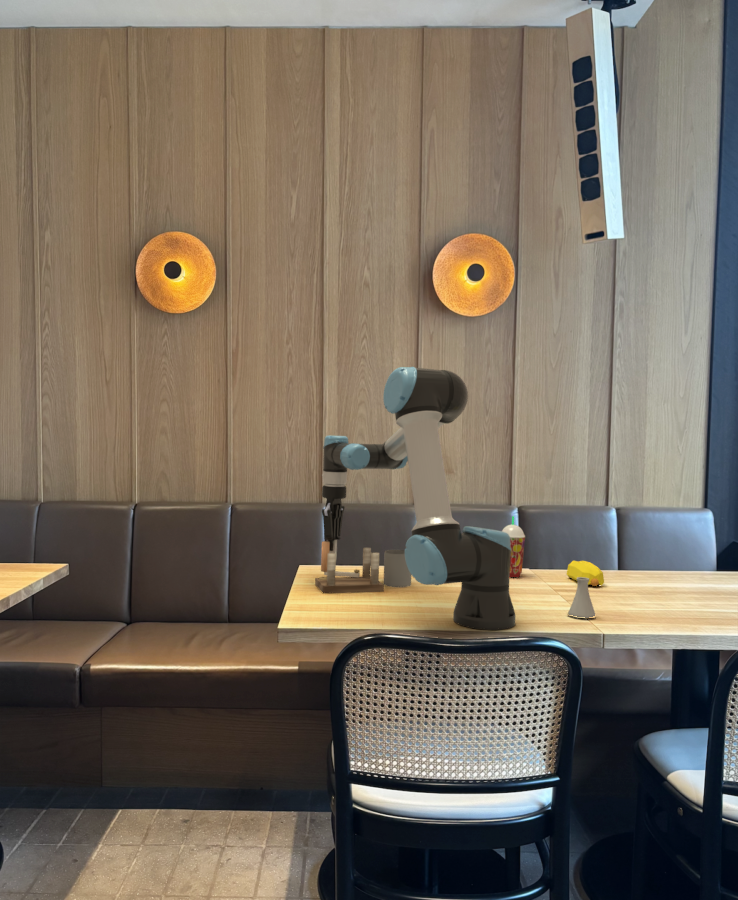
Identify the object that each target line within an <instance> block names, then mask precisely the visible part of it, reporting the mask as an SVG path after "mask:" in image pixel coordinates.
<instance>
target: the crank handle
mask: <svg viewBox="0 0 738 900" xmlns="http://www.w3.org/2000/svg"><path fill="white" fill-rule="evenodd" d="M329 547H330V542H329V541H327V540H325V541H324V540H323V541H321V556H320V558H321V559H320V560H321V561H320V572H323V575H324V576H327V557H328V553H329ZM360 574H361V573H360V572H359V573H355V572H351V571H350V572H349V571H339V570H338V571H336V570H335V577H361V575H360Z"/></svg>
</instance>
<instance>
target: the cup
mask: <svg viewBox="0 0 738 900" xmlns="http://www.w3.org/2000/svg"><path fill="white" fill-rule="evenodd" d="M383 560H384V562H383V584H384V586H386V587H390V588H407V587H408V588H409V587H411V586H412V575H411V573H410V572H409V570H408V567H407V564H406V560H405V549H387V550H386V549H385V551H384V556H383Z"/></svg>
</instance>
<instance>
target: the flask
mask: <svg viewBox="0 0 738 900" xmlns="http://www.w3.org/2000/svg"><path fill="white" fill-rule="evenodd" d="M576 582H577V587H576V591H575V595H574V597H573V601H572V603H571V605H570V608H569V610H568V612H567V615H568V614H569V615H573V616H577V617H585V618H589V617H593V616H595V614H596V612H595V609H594V606H593V602H592V600H591V596H590V592H589V591H590V590H589V585H588V582H589V578H585V577H577V581H576Z"/></svg>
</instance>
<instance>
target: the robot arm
mask: <svg viewBox="0 0 738 900" xmlns="http://www.w3.org/2000/svg"><path fill="white" fill-rule="evenodd" d="M384 385H385V386H384V389H383V399H382V400H383V405H384V408H385V409H386V410H387V412H388V413H390V414H393V415H394V416H395V422H396V425H397V426H398V427H399V428H398V429H397V430H396V431H395V432H394V433H393V434H392V435H391V436H390V437H389V438H388V439H386V441H384V442H383V443H382V444H381V443H380V444H379V443H354V442H353V443H352V442H351V443H350V442H349V438H348V437H347V436H346V435H326V436H325V437H324V441H323V459H322V460H323V461H322V462H323V465H322V466H323V467H322V474H321V477H322V484H323V485H322V487H321V489H322V490H321V496H322V498H323V499H326V501H325V508H322V509H321V513H322V523H323V535H324V536H323V539H324V540H325V541H329V542H330V547H329V553H335V554H336V559H337V558H338V557H337V552H338V540H339V541H340V540H341V535H342V525H343V519H344V512H345V508H346V507H345V505H342V504H343V503H342V500H343V499H346V498H347V486H346V485H347V483H348V469H349V470H351V471H353V470H356V471H359V470H362V469H363V470H371V469H373V470H375V469H376V470H377V469H378V470H399V469H403V468H404V467H406V465H408V471H409V478H410V485H411V492H412V499H413V506H414V513H415V520H416V522H415V524H414V525H413V527H412V529H411V531H410V532H411V536H410V537H409V538H408V539H407V541H406V543H405V548H404V550H405V560H406V564H407V567H408V570H409V572H410V573H411V577H413V578H414V579H415V581H416V582H418V583H420V584H422V585H425V586H426V585H427V586H430V585H431V586H432V585H434V586H439V585H440V586H441V585H446V584H455V583H456V584H457V583H461V587H460V588H461V589H460V592H459V595H458V598H457V600H456V603H455V605H454V607H453V608H454V609H453V617H452V620H453V622H454V623H456V624H457V625H460V626H463V627H466V628H472V629H476V630H488V631H489V630H491V631H494V630H495V631H496V630H497V631H498V630H506V629H507V630H508V629H511V628H513V627H515V626H516V612H515V609H514V605H513V602H512V601H513V600H512V598H511V594H510V578H509V577H510V555H511V548H510V536H509V535H508V534H507V533H506V532H502V530H497V529H492V528H484V527H476V526H471V525H470V526H466V525H465V526H464V527H463V529H462V530H461V524H460V522H458V521H457V520H455V519H454V518H453V514H452V509H451V502H450V496H449V491H448V484H447V477H446V476H447V475H446V470H445V463H444V458H443V451H442V445H441V437H440V432H439V431H440V430H439V429H440V428H441V427H442V426H443V425H446V424H447V425H448V424H451V423H453V422H454V421H455V420H457V418H459V417H460V416H461V415H462V413H463V412H464V410H465V408H466V406H467V405H468V401H469V394H468V393H469V391H468V387H467V385H466V382H465V381H464V380H463V378H461V376H460V375H458V374H457V373H455V372H453V371H450V370H447V369H446V370H445V369H434V368H433V369H431V368H423V367H415V366H409V367H408V366H406V367H405V366H400V367H397V368H396V369H394V370H393V371H392V372H391V373H390V374H389V375H388V378H387V379H386V382H385V384H384Z"/></svg>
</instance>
